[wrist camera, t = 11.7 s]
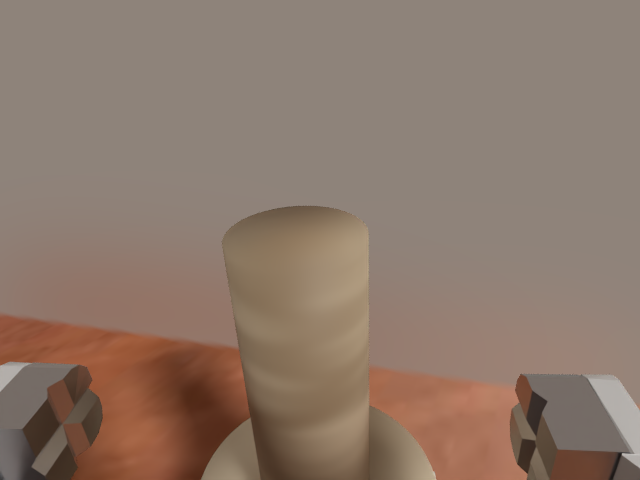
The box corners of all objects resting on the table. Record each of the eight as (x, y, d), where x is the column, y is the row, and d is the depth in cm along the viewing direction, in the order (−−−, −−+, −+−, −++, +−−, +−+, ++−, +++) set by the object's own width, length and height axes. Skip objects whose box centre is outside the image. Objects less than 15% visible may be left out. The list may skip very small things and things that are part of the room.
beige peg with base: (161, 638, 11) (37, 335, 7) (235, 412, 17) (192, 180, 13) (455, 666, 10) (511, 347, 6) (424, 420, 16) (441, 176, 12)
